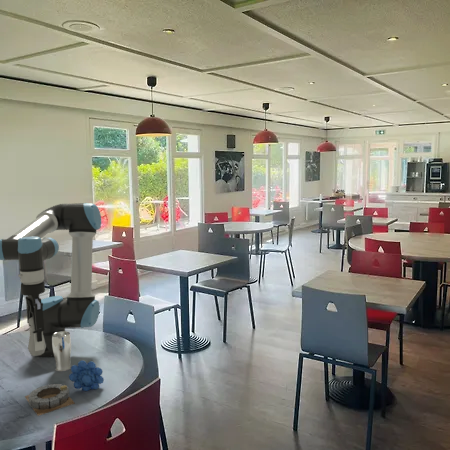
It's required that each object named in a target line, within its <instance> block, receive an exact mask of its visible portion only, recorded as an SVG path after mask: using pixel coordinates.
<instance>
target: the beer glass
mask: <svg viewBox="0 0 450 450" xmlns="http://www.w3.org/2000/svg"><path fill="white" fill-rule="evenodd" d="M52 348H53V353H54V356H53V357H54V360H55V372H65V371H68V370H71V367H72V364H71V353H72V339H71V333H70V332H69V331H66V330H65V331H61V332H57V333H54V334H53V335H52Z"/></svg>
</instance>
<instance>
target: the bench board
mask: <svg viewBox="0 0 450 450" xmlns="http://www.w3.org/2000/svg"><path fill="white" fill-rule="evenodd" d="M29 395H30V394H28V395H25V396H24V398H25V399H26V401H27V402H28V403H29V399H28V396H29ZM56 395H57V394H50V395H46V396H43V397H42V399H45V398H51V397H54V396H56ZM75 404H76V403H75V401H74V400H73V399H72V398H71V397H70V396H69V398H68V400H67V401H66V402H65V403H63V404H62V405H60V406H57V407H54V408H51V409H44V410H40V409H39V410H38V409H34V408H32V409H33V411H34V412H35V414H36V416H38V417H39V416H42V415H45V414H49V413H51V412H54V411H56V410H59V409H63V408H65V407H68V406H72V405H75Z"/></svg>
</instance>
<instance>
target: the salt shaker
mask: <svg viewBox="0 0 450 450" xmlns="http://www.w3.org/2000/svg"><path fill="white" fill-rule="evenodd" d="M27 324H28V326H29V325H31V328H30V331H29V336H28V337H29V338H28V345H27V346H28V347H27V349H28V350H27V351H28V353H29V354H30V356H32V357H39V356H38V355H42V354H43V353H44V351H45V348H46V344H45V340H44V336H43V342H44V349H43V350H39V351H35V341H34V333H33V332H34V331H35V329H34V322H33V317H32V318H30V319H29V321H28V323H27Z"/></svg>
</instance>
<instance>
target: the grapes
mask: <svg viewBox="0 0 450 450" xmlns="http://www.w3.org/2000/svg"><path fill="white" fill-rule="evenodd" d="M70 372H71V373H70V374H69V375H68V379H69V380H70V381H71V382H73V383H72V384H73V385H72V386H73V387H74V388H75V389H77V390H80V389H81V390H82V391H83V392H88V391H90V390H98V389H99V388H100V385H101V384H103V383H104V380H105V379H104V377H103V376H102V375H103V369H102V368H101V367H98V366H97V364H96V363H95V362H94V361H88V362H86V361H85V360H82V359H81V360H79V361H78V363H77V364H72V365H71V368H70Z"/></svg>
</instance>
